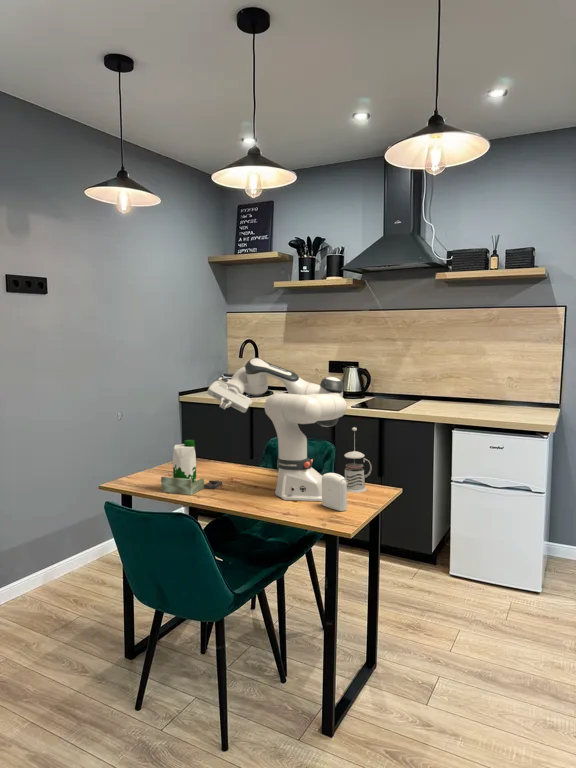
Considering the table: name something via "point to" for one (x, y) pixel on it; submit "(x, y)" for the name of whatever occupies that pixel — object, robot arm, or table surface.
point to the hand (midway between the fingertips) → (222, 407)
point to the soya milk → (185, 461)
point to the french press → (355, 485)
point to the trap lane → (186, 485)
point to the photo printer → (334, 491)
